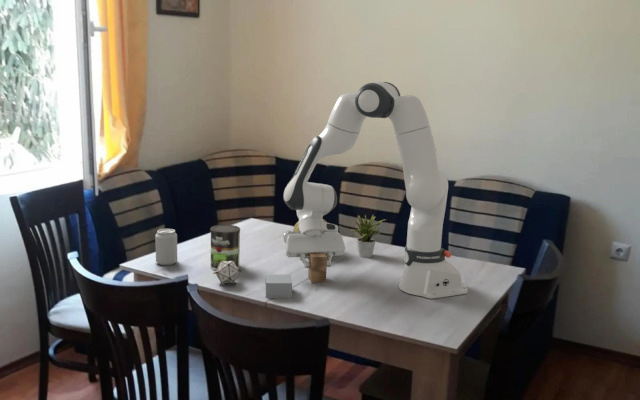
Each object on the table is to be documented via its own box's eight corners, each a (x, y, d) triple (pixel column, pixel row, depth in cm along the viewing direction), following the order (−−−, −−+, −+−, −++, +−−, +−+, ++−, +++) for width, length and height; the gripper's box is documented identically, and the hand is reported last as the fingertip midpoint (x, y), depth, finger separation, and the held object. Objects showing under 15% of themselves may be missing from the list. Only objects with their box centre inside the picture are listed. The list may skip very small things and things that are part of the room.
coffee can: (232, 273, 219) (232, 233, 216) (205, 269, 222) (205, 230, 219) (244, 264, 229) (245, 226, 226) (218, 260, 232) (218, 223, 229)
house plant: (383, 263, 235) (386, 220, 232) (346, 260, 237) (348, 218, 234) (385, 252, 249) (388, 211, 246) (350, 249, 251) (352, 209, 248)
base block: (290, 289, 207) (290, 274, 206) (291, 298, 199) (292, 283, 198) (265, 289, 206) (265, 274, 205) (265, 298, 198) (266, 283, 197)
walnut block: (322, 277, 218) (323, 252, 217) (326, 282, 214) (327, 256, 212) (308, 278, 217) (309, 252, 215) (311, 283, 213) (312, 257, 211)
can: (151, 264, 225) (151, 231, 222) (162, 258, 232) (161, 226, 229) (171, 267, 223) (171, 234, 220) (181, 260, 230) (180, 228, 227)
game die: (230, 296, 209) (234, 278, 201) (207, 284, 209) (210, 267, 202) (243, 276, 215) (247, 259, 207) (220, 265, 215) (223, 247, 208)
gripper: (284, 227, 216) (289, 263, 209) (342, 225, 221) (349, 261, 214) (281, 236, 221) (286, 272, 214) (338, 234, 226) (344, 269, 219)
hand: (318, 266), depth 214 cm, fingers open, 6 cm apart
